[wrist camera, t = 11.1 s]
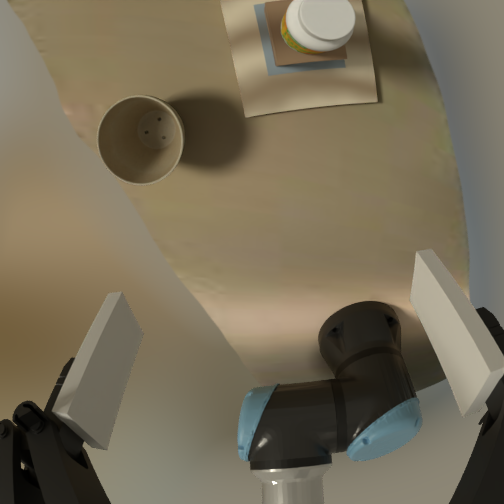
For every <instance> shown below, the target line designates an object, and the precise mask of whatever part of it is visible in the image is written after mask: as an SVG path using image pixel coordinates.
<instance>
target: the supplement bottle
mask: <svg viewBox="0 0 504 504" xmlns="http://www.w3.org/2000/svg"><path fill="white" fill-rule="evenodd" d="M355 20H356V17H355V11H354V9H353V7H352V5H351V4H350V2H349V1H348V0H293V1H292V2H291V3H290V5H289V6H288V8H287V10H286V12H285V15H284V16H283V18H282V21H281V35H282V37H283V39H284V41H285V42H286V44H287V45H288V46H289V47H291V48H292V49H293V50H295V51H297V52H299V53H302V54H309V55H312V54H319V53H323V52H327V51H332V50H335V49H337V48H339V47H341V46H343V45H344V44H345V43H346V42H347V41H348V40H349V39H350V37H351V35H352V33H353V30H354V25H355Z"/></svg>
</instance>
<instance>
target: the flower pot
mask: <svg viewBox="0 0 504 504" xmlns="http://www.w3.org/2000/svg"><path fill="white" fill-rule="evenodd" d="M158 118H159V120H158ZM147 132H148V134H146V133H147ZM164 136H165V137H166V138H165V137H164ZM184 144H185V130H184V126H183V122H182V120H181V118H180V116H179V115H178V113H177V112H176V110H175V109H174V108H173V107H172V106H170V105H169V104H168V103H166V102H165V101H163V100H161V99H159V98H156V97H152V96H147V95H133V96H129V97H126V98H123V99H121V100H119V101H117V102H116V103H114V104H113V105H112V106H111V107H110V108H109V109H108V110H107V111H106V113H105V114H104V116H103V117H102V119H101V121H100V124H99V127H98V131H97V148H98V152H99V155H100V158H101V160H102V162H103V164H104V165H105V167H106V168H107V169H108V170H109V172H110V173H111V174H113V175H114V176H115V177H116V178H118V179H119V180H121V181H123V182H126V183H128V184H132V185H140V186H143V185H151V184H154V183H157V182H159V181H161V180H163V179H164V178H166V177H167V176H168V175H169V174H170V173H171V172H172V171H173V170H174V169H175V167H176V166H177V164H178V163H179V161H180V158H181V156H182V153H183V149H184Z"/></svg>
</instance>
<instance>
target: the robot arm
mask: <svg viewBox="0 0 504 504" xmlns="http://www.w3.org/2000/svg"><path fill="white" fill-rule="evenodd" d="M410 302H411V304H412V305H413V307H414V309H415V311H416V313H417V315H418V317H419V319H420V321H421V323H422V325H423V327H424V329H425V331H426V333H427V336H428V338H429V340H430V342H431V344H432V346H433V348H434V350H435V353H436V355H437V357H438V359H439V361H440V364H441V366H442V368H443V370H444V373H445V375H446V377H447V380H448V382H449V384H450V387H451V389H452V392H453V394H454V397H455V399H456V402H457V404H458V407H459V409H460V412H461V415H462V417H466V416H468V415H471V414H473V413H476V412H479V411H480V410H481V408H482V407H483V405H484V404H485V403H486V405H487V407H488V411H487V412H486V413H485V415H484V416H483V417H482V419H481V420H480V422H479V425H481V424H482V422H483V424H482V427H481V430H480V433H479V436H478V439H477V441H476V444H475V447H474V449H473V452H472V454H471V457H470V459H469V462H468V464H467V467H466V469H465V471H464V473H463V476H462V478H461V480H460V482H459V484H458V486H457V488H456V491H455V493H454V495H453V497H452V499H451V501H450V502H449V504H504V330H503V329H502V327H501V326H500V324H499V322H498V321H497V319H496V318H495V316H494V315H493V314H492V313H491V312H490V311H488V310H487V309H486V308H484V307H482V308H478V309H475V308H474V307H473V306H472V304H471V302H470V301H469V300H468V298H467V297H466V295H465V294H464V292H463V291H462V289H461V288H460V287H459V285H458V284H457V282H456V281H455V279H454V278H453V277H452V275H451V274H450V273H449V271H448V270H447V269H446V267H445V266H444V264H443V263H442V262H441V261H440V259H439V258H438V257H437V255H436V254H435V253H434V251H433V250H432V249H427V250H421V251H416V260H415V268H414V275H413V282H412V289H411V295H410ZM143 335H144V333H143V331H142V329H141V328H140V326H139V324H138V322H137V320H136V318H135V316H134V314H133V313H132V310H131V308H130V307H129V305H128V303H127V301H126V299H125V296H124V294H123V292H115V293H109V294H108V295H107V297H106V299H105V301H104V303H103V305H102V307H101V309H100V310H99V312H98V314H97V316H96V318H95V320H94V322H93V324H92V325H91V328H90V329H89V331H88V333H87V335H86V337H85V339H84V341H83V343H82V345H81V347H80V349H79V351H78V354H77V356H76V358H71V359H70V360H69V361H68V363H67V364H66V365H65V366H64V368H63V370H62V372H61V374H60V378H58V380H57V382H56V385H55V387H54V389H53V391H52V393H51V396H50V398H49V400H48V402H47V405H46V407H45V409H44V412H43V411H42V410H41V409H40V408H39V407H38V406H37V405H36V404H35V403H33V402H32V401H25V402H22V403H21V404H20V405H18V407H17V408H16V409H15V411H14V414H13V422H14V423H15V424H16V425H17V426H16V425H14V423H12V422H11V421H10V420H8V419H4V420H2V421H0V504H111V503H110V501H109V499H108V497H107V495H106V493H105V491H104V489H103V487H102V485H101V483H100V481H99V479H98V477H97V475H96V472H95V470H94V468H93V466H92V464H91V461H90V459H89V457H88V454H87V452H86V450H85V449H84V448H83V447H82V445H83V442H84V441H85V442H86V443H87V444H88V445H90V446H91V447H92V448H98V449H103V450H107V448H108V445H109V441H110V437H111V434H112V431H113V427H114V424H115V420H116V417H117V414H118V411H119V407H120V404H121V400H122V398H123V394H124V391H125V388H126V385H127V382H128V379H129V376H130V373H131V369H132V367H133V364H134V361H135V358H136V355H137V352H138V349H139V346H140V344H141V341H142V338H143ZM318 341H319V347H320V352H321V354H322V356H323V358H324V359H325V361H326V362H327V364H328V365H329V367H330V368H331V370H332V372H333V373H334V375H335V378H336V379H329V380H321V381H313V382H304V383H294V384H283V385H280V384H275V385H273V386H264V387H257V388H253V389H251V390H250V391H249V392H248V393H247V395H246V396H245V399H244V401H243V404H242V408H241V412H240V417H239V425H238V453H239V457H240V458H241V459H242V460H245V461H250V470H251V473H253V474H254V475H255V476H256V477H257V478H258V479H260V481H261V482H262V504H324V497H323V480H322V477H323V475H324V474H325V473H326V471H327V470H328V469H329V468H330V467H331V466H332V458H331V454H332V453H338V452H344V451H347V455H348V456H349V458H350V459H351V460H353V461H359V460H361V461H366V460H370V459H375V458H378V457H381V456H383V455H386V454H388V453H390V452H392V451H394V450H396V449H398V448H400V447H401V446H403V445H404V444H406V443H407V442H409V441H410V440H411V439H412V438H413V437H414V436H415V435H416V434H417V433H418V432H419V430H420V428H421V426H422V415H421V411H420V407H419V399H418V398H417V396H416V393H415V390H414V387H413V385H412V382H411V379H410V376H409V374H408V371H407V368H406V366H405V363H404V360H403V358H402V355H401V326H400V322H399V320H398V318H397V315H396V313H395V312H394V310H393V309H392V308H390V307H389V306H387V305H385V304H383V303H379V302H360V303H356V304H352V305H349V306H347V307H344V308H342V309H341V310H339V311H337V312H336V313H334V314H333V315H332V316H330V317H329V318H328V319H327V320H326V321H325V323H324V324H323V326H322V327H321V329H320V332H319V336H318ZM21 462H22V463H23V464H24V465H25V468H24V470H23V469H22V468H21Z"/></svg>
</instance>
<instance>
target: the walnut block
mask: <svg viewBox="0 0 504 504" xmlns="http://www.w3.org/2000/svg"><path fill="white" fill-rule="evenodd" d="M292 1H293V0H280V1H272V2H265V7H264V13H265V17H266V22H267V27H268V31H269V36H270V41H271V46H272V51H273V56H274V61H275V66H282V65H290V64H298V63H307V62H318V61H330V60H342V59H347V53H346V47H345V44H344V45H343V46H341V47H339V48H337V49H335V50H332V51H327V52H323V53H319V54H312V55H309V54H302V53H299V52H297V51H295V50H293V49H292V48H291V47H289V46H288V45H287V44H286V42H285V41H284V39H283V37H282V35H281V21H282V18H283V16H284V15H285V12H286V10H287V8H288V6H289V5H290V3H291V2H292Z"/></svg>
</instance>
